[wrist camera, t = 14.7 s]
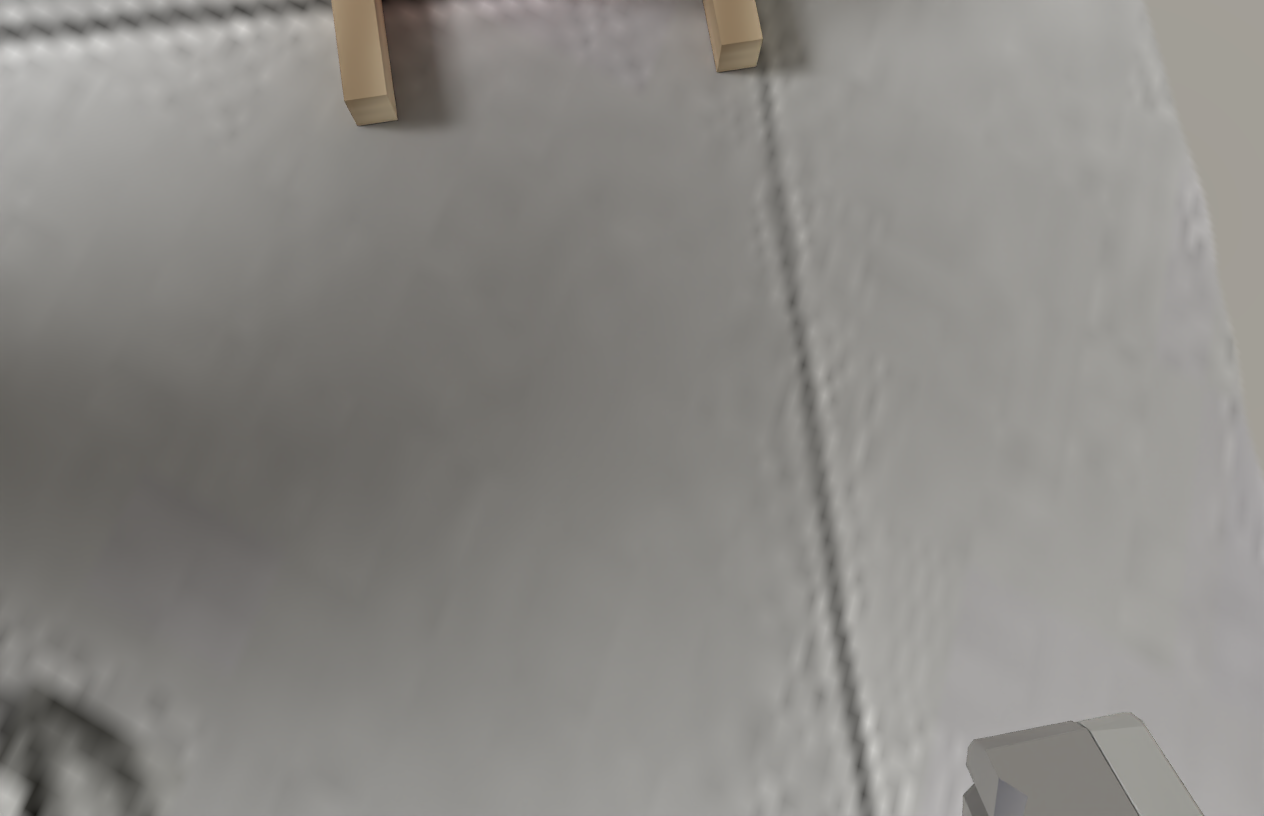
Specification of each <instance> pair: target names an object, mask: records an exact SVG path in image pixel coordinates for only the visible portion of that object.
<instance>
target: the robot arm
mask: <svg viewBox="0 0 1264 816" xmlns="http://www.w3.org/2000/svg"><path fill="white" fill-rule="evenodd" d="M966 766H967V768H968V770H969V773H970V775H971V777H972V779H973V782H974V784H973V785H972V786H971V787H970V789H969V790H968V791H967V792H966V793H965V794H964V795H963V811H962V816H1204V815H1203V813H1202V812H1201V810H1200V809H1199V807H1198V806H1197V804H1196V803H1195V801H1194V799H1193V798H1192V796H1191V795H1190V793H1189V792H1188V790H1187V789H1186V787H1185V786H1184V784H1183V783H1182V781H1181V780H1180V778H1179V777H1178V775H1177V773H1176V772H1175V770H1174V769H1173V767H1172V766H1171V764H1170V763H1169V761H1168V760H1167V758H1166V757H1165V755H1164V754H1163V752H1162V751H1161V749H1160V748H1159V746H1158V744H1157V743H1156V741H1155V740H1154V738H1153V737H1152V735H1151V734H1150V732H1149V731H1148V729H1147V728H1146V726H1145V725H1144V723H1143V722H1142V721H1141V720H1140V719H1139V718H1137V717H1136V716H1135V715H1133V714H1132V713H1118V714H1113V715H1108V716H1103V717H1098V718H1093V719H1088V720H1083V721H1078V722H1073V721H1067V722H1062V723H1057V724H1052V725H1047V726H1041V727H1036V728H1031V729H1026V730H1021V731H1016V732H1011V733H1005V734H1000V735H995V736H990V737H985V738H980V739H975V740H973V741H972V742H971V744H970V745H969V747H968V752H967V761H966Z"/></svg>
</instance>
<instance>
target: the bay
mask: <svg viewBox="0 0 1264 816" xmlns="http://www.w3.org/2000/svg"><path fill="white" fill-rule="evenodd" d="M703 5H704V10H705V15H706V20H707V25H708V30H709V35H710V40H711V45H712V50H713V55H714V60H715V65H716V71H717V72H723V71H729V70H736V69H743V68H749V67H756V65H757V61H758V57H759V53H760V49H761V45H762V41H763V36H762V32H761V27H760V22H759V17H758V12H757V7H756V2H755V0H703ZM332 8H333V16H334V24H335V32H336V40H337V48H338V55H339V63H340V71H341V79H342V87H343V95H344V101H345V103H346V105H347V107H348V109H349V111H350V113H351V115H352V117H353V118H354V120H355V122H356V124H357V126H360V125H367V124H374V123H380V122H387V121H394V120H398V118H397V110H396V103H395V96H394V88H393V81H392V74H391V66H390V59H389V52H388V44H387V37H386V30H385V23H384V15H383V8H382V1H381V0H332Z"/></svg>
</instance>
